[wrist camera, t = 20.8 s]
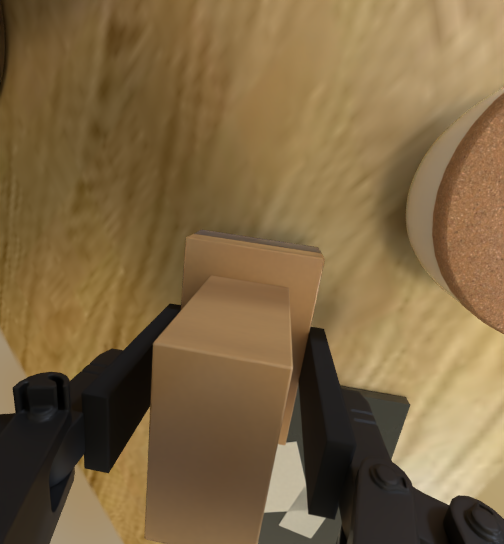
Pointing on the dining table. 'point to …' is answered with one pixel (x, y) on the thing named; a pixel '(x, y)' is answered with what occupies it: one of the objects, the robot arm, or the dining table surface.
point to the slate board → (292, 483)
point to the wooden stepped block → (226, 386)
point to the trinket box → (464, 210)
